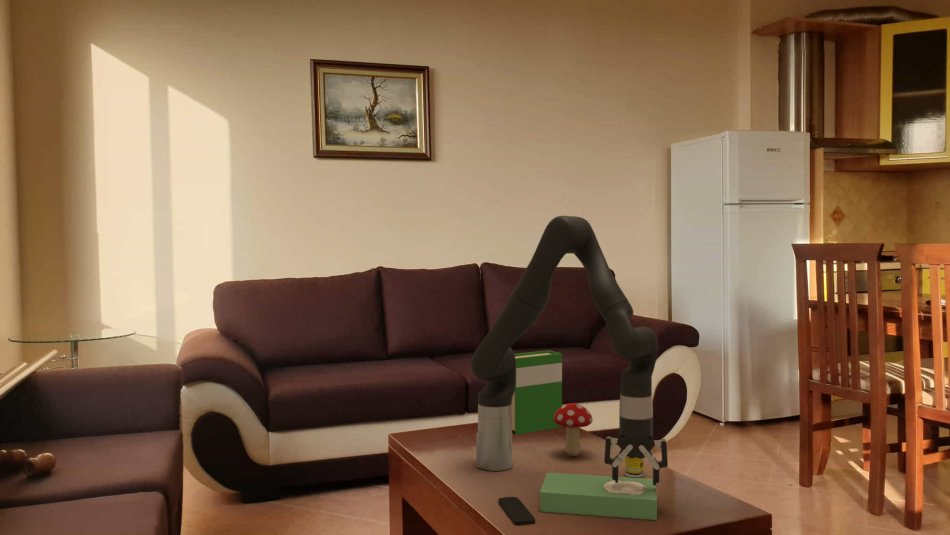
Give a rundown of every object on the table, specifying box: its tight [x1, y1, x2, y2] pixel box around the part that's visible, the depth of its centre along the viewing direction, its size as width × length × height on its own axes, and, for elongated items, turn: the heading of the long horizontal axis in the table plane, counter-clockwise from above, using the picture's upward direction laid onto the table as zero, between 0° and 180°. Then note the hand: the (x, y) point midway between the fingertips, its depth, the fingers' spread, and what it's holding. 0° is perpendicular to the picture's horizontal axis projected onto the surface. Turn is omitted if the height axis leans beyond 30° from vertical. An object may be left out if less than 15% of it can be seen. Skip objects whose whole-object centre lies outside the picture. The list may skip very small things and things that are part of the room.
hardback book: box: [512, 349, 563, 436], centre depth 243 cm, size 18×7×24 cm, turn 120°
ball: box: [620, 487, 634, 492], centre depth 175 cm, size 4×4×4 cm
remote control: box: [497, 496, 536, 527], centre depth 172 cm, size 5×2×15 cm
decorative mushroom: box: [554, 402, 593, 457], centre depth 213 cm, size 11×11×15 cm
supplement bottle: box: [624, 456, 644, 478], centre depth 197 cm, size 5×5×8 cm
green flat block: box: [539, 472, 658, 521], centre depth 177 cm, size 26×14×4 cm, turn 78°
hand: (635, 483), depth 175 cm, fingers open, 8 cm apart
